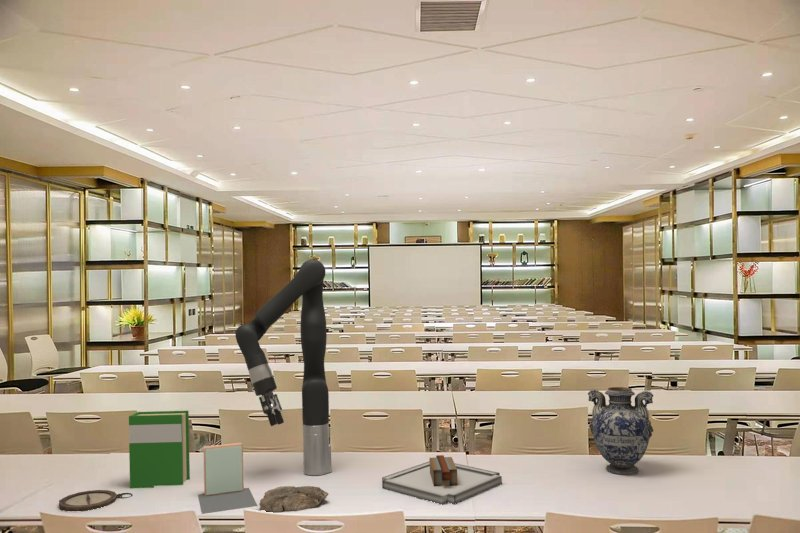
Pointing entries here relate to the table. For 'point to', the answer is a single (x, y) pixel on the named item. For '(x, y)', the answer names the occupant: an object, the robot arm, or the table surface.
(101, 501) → the compass
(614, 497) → the table surface
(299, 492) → the clay tablet
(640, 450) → the decorative vase
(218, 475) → the terracotta tile
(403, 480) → the grey square tray
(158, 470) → the hardback book
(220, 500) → the rubber mat
